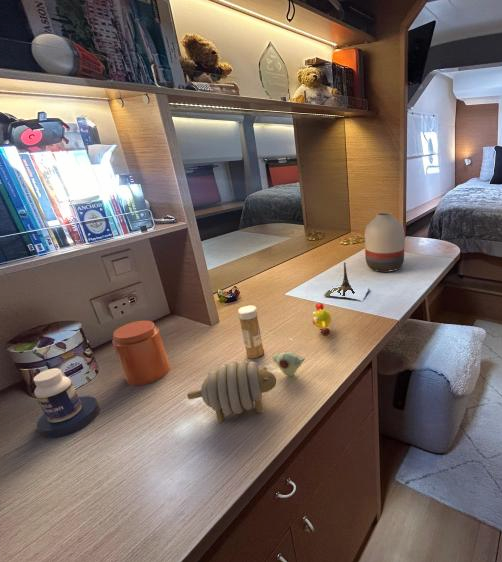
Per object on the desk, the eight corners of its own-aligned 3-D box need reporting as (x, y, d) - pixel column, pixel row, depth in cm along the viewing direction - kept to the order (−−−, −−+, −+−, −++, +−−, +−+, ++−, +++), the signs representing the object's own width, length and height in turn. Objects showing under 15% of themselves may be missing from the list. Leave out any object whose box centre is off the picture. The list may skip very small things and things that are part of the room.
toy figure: (310, 318, 108) (308, 299, 105) (328, 316, 109) (326, 297, 106) (316, 349, 92) (314, 327, 89) (336, 346, 93) (334, 324, 90)
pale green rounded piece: (308, 372, 83) (305, 349, 80) (301, 383, 79) (298, 359, 76) (278, 368, 84) (274, 345, 82) (270, 379, 81) (266, 355, 78)
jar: (117, 383, 80) (99, 337, 76) (148, 360, 89) (133, 317, 84) (150, 387, 79) (134, 341, 74) (178, 363, 87) (165, 320, 82)
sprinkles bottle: (265, 355, 89) (257, 310, 84) (247, 360, 88) (238, 314, 82) (262, 347, 93) (255, 303, 88) (245, 351, 91) (236, 307, 86)
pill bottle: (42, 427, 66) (21, 386, 62) (54, 408, 70) (35, 370, 67) (77, 418, 68) (58, 379, 64) (86, 401, 72) (69, 363, 68)
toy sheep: (282, 415, 70) (275, 370, 66) (192, 441, 64) (177, 395, 60) (276, 383, 79) (269, 343, 75) (196, 404, 73) (184, 362, 69)
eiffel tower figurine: (370, 289, 127) (369, 256, 122) (362, 301, 118) (361, 265, 113) (333, 286, 131) (331, 253, 126) (323, 297, 122) (319, 262, 117)
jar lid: (108, 413, 71) (105, 406, 71) (51, 445, 64) (47, 438, 63) (89, 397, 76) (86, 390, 75) (33, 425, 69) (29, 418, 68)
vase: (395, 276, 139) (395, 219, 130) (358, 271, 146) (356, 216, 136) (409, 264, 153) (410, 211, 144) (375, 259, 160) (374, 208, 150)
